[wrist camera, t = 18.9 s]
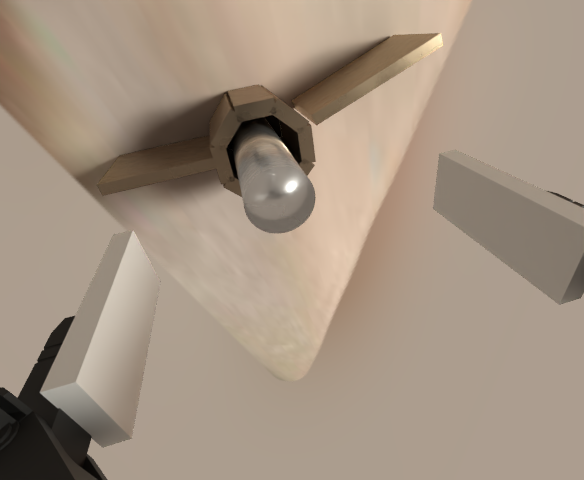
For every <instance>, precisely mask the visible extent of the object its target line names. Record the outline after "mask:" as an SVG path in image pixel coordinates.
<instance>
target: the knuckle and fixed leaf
mask: <svg viewBox="0 0 584 480" xmlns="http://www.w3.org/2000/svg"><path fill="white" fill-rule="evenodd" d="M228 94H229V95H227V94H226V93H225V94H224V96H223V97H222V99H221V101H220V103H219V105H218V107H217V108H216V110H215V112H214V114H213V116H212V118H211V119H210V124H209V125H210V135H208V136H204V137H199V138H195V139H190V140H186V141H182V142H177V143H173V144H168V145H164V146H159V147H155V148H150V149H146V150H142V151H137V152H133V153H128V154H124V155H120V156H119V157H118V158H117V160H116V161H115V162H114V163H113V165H112V166H111V167H110V169H109V170H108V171H107V172H106V174H105V175H104V176H103V178H102V179H101V180H100V181H99V183H98V184H97V186H98V188H99V190H100V192H101V194H102V195H107V194H112V193H116V192H120V191H124V190H129V189H133V188H137V187H141V186H146V185H150V184H154V183H158V182H162V181H167V180H171V179H175V178H179V177H184V176H188V175H192V174H196V173H201V172H205V171H209V170H213V169H216V170H217V173H218V176H219V179H220V182H221V184H223V186H224V188H226V189H228V190H230V191H232V192H234V193H235V194H237V195H239V196H241V197H242V193H241V188H240V184H239V179H238V174H237V169H236V164H235V159H234V154H233V150H231V149H229V148H228V144H229V143H230V141H231V139H232V138H233V136H234V134H235V133H236V131H237V129H238V127H239V126H240V124H241V122H243V121H247V120H252V119H256V118H261V117H265V116H270V115H274V116H275V117H277V118H278V119H279V123H280V128H281V134H282V136H281V138H280V139H281V141H282V142H283V144H284V145H285V146H286V148H287V149H288V150H289V152H290V153H291V155H292V156H293V157H294V159H295V160H296V162H297V163H298V164H299V166H300V167H301V169H302V170H303V171H304V173H305V174H306V176H307V175H308V174H309V172H310V171H311V170H312V168H313V167H314V164H313V163H312V162H316V161H315V153H314V145H313V137H312V128H311V125H310V124H309V121H308V120H306V119H305V118H304V117H303V116H301V115H300V114H299V113H297V112H296V111H295V110H294V109H292V108H291V107H290V106H289V105H287V104H286V103H285V102H283V101H282V100H281V99H279V98H278V97H277V96H275V95H274V94H273V93H271V92H270V91H269V90H267V89H266V88H265V87H263V86H262V85H261V86H259V85H253V86H249V87H244V88H239V89H235V90H230V91H228Z"/></svg>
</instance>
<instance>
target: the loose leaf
mask: <svg viewBox="0 0 584 480" xmlns="http://www.w3.org/2000/svg"><path fill="white" fill-rule="evenodd" d="M442 46H443V42H442V37H441V33H435V34H408V35H393V36H391V37H390V38H388V39H386V40H385V41H383V42H382V43H380V44H379V45H377V46H376V47H374V48H372V49H371V50H369V51H368V52H366V53H365V54H363V55H362V56H360V57H358V58H357V59H355V60H354V61H352V62H351V63H349V64H348V65H346V66H344V67H343V68H341V69H340V70H338V71H337V72H335V73H334V74H332V75H330V76H329V77H327V78H326V79H324V80H323V81H321V82H320V83H318V84H316V85H315V86H313V87H312V88H310V89H309V90H307V91H305V92H304V93H302V94H301V95H299V96H298V97H296V98H295V99H293V100H291V101H292V103H293V105H294V107H295V109H296V110H298V111H299V112H300V113H301V114H303V115H304V116H305V117H307V118H308V119H309V120H311V121H312V122H313V123H314V124H316V125H318V124H319V123H321V122H322V121H324V120H326V119H327V118H329V117H330V116H332V115H334V114H335V113H337V112H338V111H340V110H342V109H343V108H345V107H346V106H348V105H349V104H351V103H353V102H354V101H356V100H357V99H359V98H361V97H362V96H364V95H365V94H367V93H369V92H370V91H372V90H373V89H375V88H377V87H378V86H380V85H381V84H383V83H385V82H386V81H388V80H389V79H391V78H392V77H394V76H396V75H397V74H399V73H400V72H402V71H404V70H405V69H407V68H408V67H410V66H412V65H413V64H415V63H416V62H418V61H420V60H421V59H423V58H424V57H426V56H427V55H429V54H431V53H432V52H434V51H435V50H437V49H439V48H440V47H442Z"/></svg>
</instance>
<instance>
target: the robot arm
mask: <svg viewBox="0 0 584 480" xmlns="http://www.w3.org/2000/svg"><path fill="white" fill-rule="evenodd" d="M433 209H434V210H435V211H437V212H438V213H439V214H441V215H442V216H443V217H445V218H446V219H447V220H449V221H450V222H451V223H453V224H454V225H455V226H456V227H458V228H459V229H461V230H462V231H463V232H464V233H466V234H467V235H468V236H470V237H471V238H472V239H474V240H475V241H476V242H478V243H479V244H480V245H482V246H483V247H484V248H485V249H487V250H488V251H490V252H491V253H492V254H493V255H495V256H496V257H497V258H499V259H500V260H501V261H502V262H504V263H505V264H506V265H508V266H509V267H510V268H512V269H513V270H514V271H516V272H517V273H518V274H520V275H521V276H522V277H523V278H525V279H526V280H528V281H529V282H530V283H531V284H533V285H534V286H535V287H537V288H538V289H539V290H541V291H542V292H543V293H545V294H546V295H547V296H548V297H550V298H551V299H553V300H554V301H555V302H556V303H558V304H563V303H566V302H570V301H573V300H576V299H579V298H581V297H582V295H583V293H584V205H582V204H580V203H578V202H573V201H572V200H571V199H568V198H566V197H564V196H562V195H559V194H557V193H553V192H549V191H545V190H543V189H541V188H538V187H536V186H534V185H532V184H530V183H527V182H525V181H523V180H521V179H519V178H516V177H514V176H512V175H510V174H508V173H505V172H503V171H501V170H499V169H497V168H495V167H492V166H490V165H488V164H486V163H484V162H481V161H479V160H477V159H475V158H473V157H470V156H468V155H466V154H464V153H462V152H459V151H457V150H452V151H448V152H444V153H440V154H439V161H438V170H437V179H436V187H435V197H434V206H433ZM160 282H161V281H160V280H159V277H158V276H157V274H156V272H155V270H154V268H153V266H152V264H151V263H150V261H149V259H148V257H147V255H146V253H145V251H144V249H143V248H142V246H141V244H140V242H139V240H138V238H137V236H136V235H135V233H134V231H133V230H131V231H127V232H123V233H119V234H115V235H113V237H112V239H111V241H110V243H109V245H108V247H107V249H106V251H105V254H104V256H103V258H102V260H101V262H100V264H99V267H98V269H97V271H96V273H95V275H94V277H93V279H92V281H91V284H90V286H89V288H88V290H87V292H86V294H85V296H84V298H83V301H82V303H81V305H80V307H79V309H78V311H77V314H76V316H72V317H69V318H65V319H64V320H63V321H62V322H61V323H60V324H59V325H58V326H57V328H56V329H55V330H54V331H53V332H52V333H51V335H50V337H49V339H48V341H47V342H46V344H45V346H44V350H43V351H42V352H41V354H40V356H39V358H38V360H37V361H38V363H36V364H35V365H34V367H33V370H32V371H31V373H30V375H29V377H28V379H27V381H26V383H25V385H24V387H23V388H22V391H21V392H20V395H19V396H18V398H17V397H15V396H14V395H13V394H12V393H10V392H9V391H8V390H6V389H5V388H0V480H107V479H106V477H105V476H104V474H103V473H102V471H101V470H100V468H99V467H98V465H97V464H96V463H95V461H94V460H93V459H92V458H91V457H90V456H89V455H88V454H87V451H88V448H89V444H90V441H91V438H92V439H93V440H95V441H96V442H97V443H98V444H99V445H100V446H101V447H106V446H109V445H112V444H115V443H119V442H122V441H125V440H128V439H131V438H132V434H133V428H134V422H135V417H136V411H137V406H138V401H139V395H140V390H141V385H142V380H143V374H144V369H145V363H146V357H147V352H148V347H149V342H150V336H151V331H152V325H153V320H154V315H155V309H156V304H157V298H158V292H159V287H160Z"/></svg>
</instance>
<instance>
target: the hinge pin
mask: <svg viewBox="0 0 584 480" xmlns="http://www.w3.org/2000/svg"><path fill="white" fill-rule="evenodd" d="M231 144H232V149H233V154H234V159H235V164H236V169H237V174H238V179H239V184H240V188H241V193H242V198H243V203H244V208H245V212H246V215H247V217H248V219H249V220H250V221H251V223H252V224H253V225H255V226H256V227H257V228H259V229H261V230H263V231H265V232H269V233H285V232H288V231H291V230H294V229H296V228H297V227H299V226H300V225H302V224H303V223H304V222H305V221H306V220H307V219H308V217H309V216H310V214H311V213H312V211H313V208H314V204H315V191H314V187H313V185H312V183H311V181H310V180H309V178H308V177H307V176H306V174H305V173H304V171H303V170H302V169H301V167H300V166H299V164H298V163H297V162H296V160H295V159H294V157H293V156H292V155H291V153H290V152H289V150H288V149H287V148H286V146H285V145H284V144H283V142H282V141H281V139H280V138H279V137H278V135H277V134H276V132H275V131H274V130H273V128H272V127H271V125H270V124H269V123H268V121H267V120H266V118H265V117H261V118H256V119H252V120H247V121H243V122H241V124H240V126H239V127H238V129H237V131H236V133H235V134H234V136H233V138H232V139H231Z"/></svg>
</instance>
